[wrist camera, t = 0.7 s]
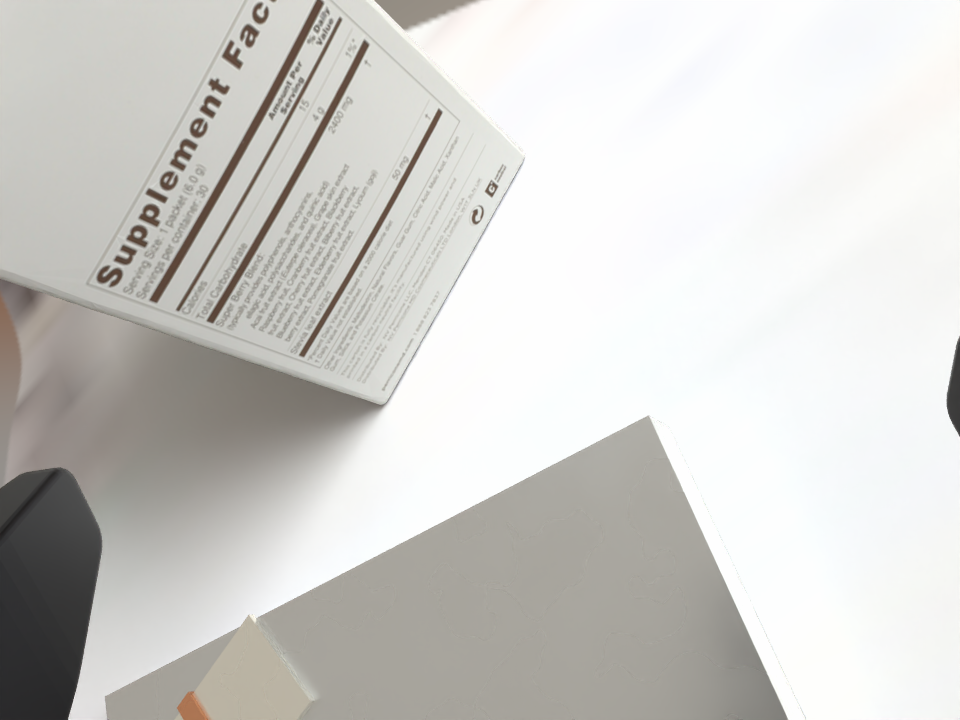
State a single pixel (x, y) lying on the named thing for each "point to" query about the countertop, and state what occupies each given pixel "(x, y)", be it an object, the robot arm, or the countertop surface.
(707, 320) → the countertop surface
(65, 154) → the supplement box
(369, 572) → the level stand
